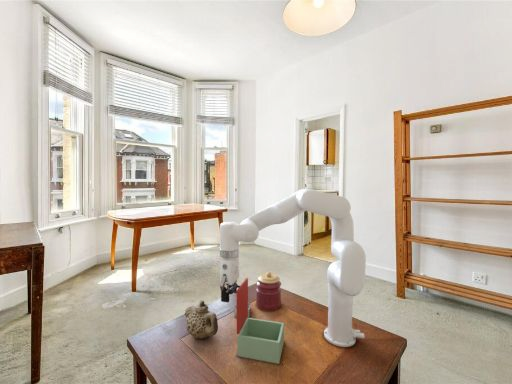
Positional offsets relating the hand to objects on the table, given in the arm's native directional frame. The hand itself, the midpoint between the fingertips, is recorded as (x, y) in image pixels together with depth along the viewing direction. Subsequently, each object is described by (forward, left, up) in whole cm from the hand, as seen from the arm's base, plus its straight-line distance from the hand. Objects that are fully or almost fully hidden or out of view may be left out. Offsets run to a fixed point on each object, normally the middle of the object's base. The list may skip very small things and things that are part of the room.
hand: (229, 296), depth 97 cm
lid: (-6, 0, -3) cm, 7 cm away
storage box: (-14, 0, -19) cm, 23 cm away
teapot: (+12, -1, -19) cm, 23 cm away
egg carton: (+1, -23, -19) cm, 30 cm away
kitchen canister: (-10, -34, -19) cm, 40 cm away
